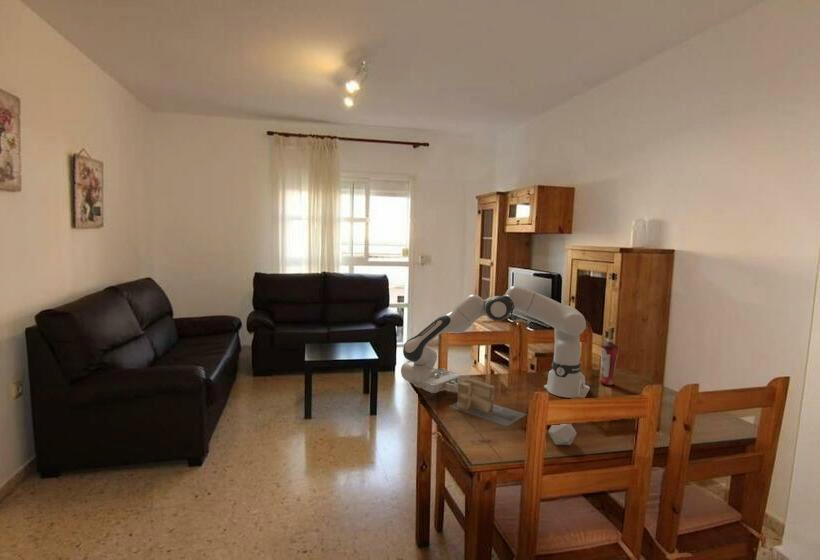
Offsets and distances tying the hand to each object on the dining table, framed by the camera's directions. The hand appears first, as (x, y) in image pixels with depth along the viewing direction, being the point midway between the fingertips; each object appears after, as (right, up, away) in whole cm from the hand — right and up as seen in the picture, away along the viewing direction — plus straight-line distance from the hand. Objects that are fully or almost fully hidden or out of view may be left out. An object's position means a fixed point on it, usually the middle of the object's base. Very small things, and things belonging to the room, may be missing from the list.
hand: (457, 387), depth 196 cm
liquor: (+75, -6, +30) cm, 81 cm away
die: (+33, -12, -35) cm, 49 cm away
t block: (+8, -7, -6) cm, 12 cm away
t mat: (+11, -8, -9) cm, 16 cm away
